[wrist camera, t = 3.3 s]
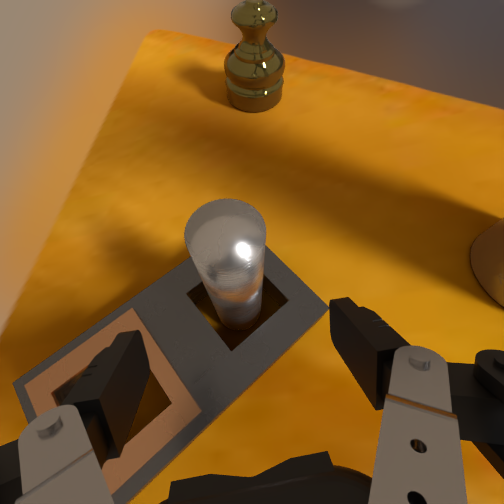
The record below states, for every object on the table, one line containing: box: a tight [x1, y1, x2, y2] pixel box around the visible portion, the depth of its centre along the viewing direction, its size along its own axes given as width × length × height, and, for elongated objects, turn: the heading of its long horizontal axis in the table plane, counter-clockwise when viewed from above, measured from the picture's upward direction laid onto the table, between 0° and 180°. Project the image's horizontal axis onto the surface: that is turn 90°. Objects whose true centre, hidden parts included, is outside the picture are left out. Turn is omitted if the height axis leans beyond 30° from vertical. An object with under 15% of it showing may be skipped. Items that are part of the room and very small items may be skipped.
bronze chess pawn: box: [224, 0, 285, 112], centre depth 32 cm, size 7×7×10 cm
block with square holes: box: [13, 245, 329, 504], centre depth 20 cm, size 19×10×3 cm, turn 131°
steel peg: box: [184, 199, 266, 331], centre depth 17 cm, size 4×4×12 cm
